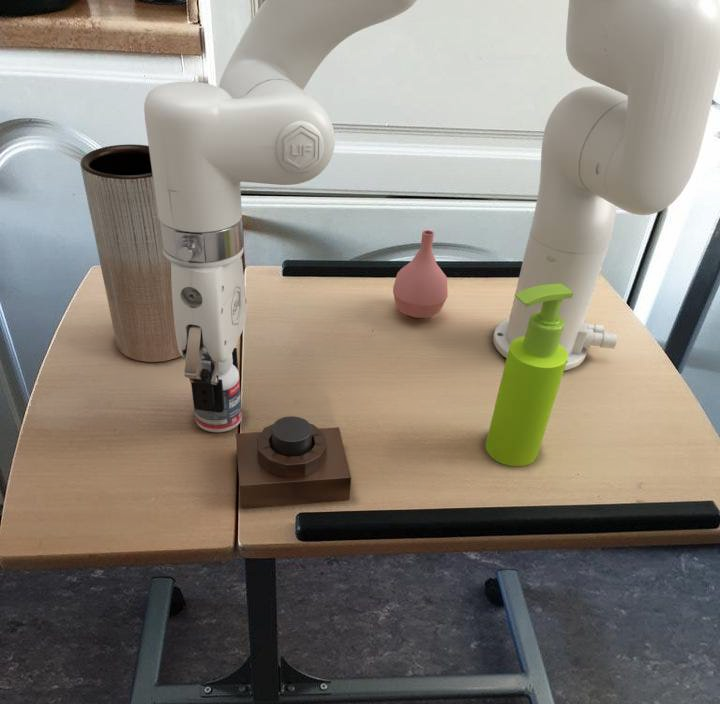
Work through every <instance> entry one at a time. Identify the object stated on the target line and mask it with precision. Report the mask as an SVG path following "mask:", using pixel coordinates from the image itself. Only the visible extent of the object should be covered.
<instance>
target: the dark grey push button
mask: <svg viewBox="0 0 720 704" xmlns="http://www.w3.org/2000/svg"><path fill="white" fill-rule="evenodd" d="M272 424H273V426H272V447H273V449H274V450H275V451H276V452H277V453H278V454H280V455H284V456H287V457H292V456H302V455H304V454H306V453H307V452H308V451H309V450H310V449H311V446H312V426H311V424H312V423H310V422H309V421H308V420H307V419H305V418H303V417H299V416H296V415H295V416H294V415H292V416H291V415H290V416H283V417H280V418H279V419H277V420H276V421H274V423H272Z"/></svg>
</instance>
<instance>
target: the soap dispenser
mask: <svg viewBox="0 0 720 704" xmlns="http://www.w3.org/2000/svg"><path fill="white" fill-rule="evenodd" d="M515 293H516V292H515ZM515 293H514V297H515V296H516V297H517V298H518V299H519V300H520V301H521V302H522V303H523V304H525V305H526V306H527V307H529V306H531V305H534V304H537V303H540V302H543V304H542V308H541V312H536V313H534V314H532V315H531V317H530V319H529V323H528V327H527V331H526V335H525V336H522V337H519V338H516V339H515V340H513V341H512V342H511V344H510V347H509V351H508V355H507V358H506V359H505V364H504V367H503V371H502V376H501V380H500V384H499V388H498V391H497V397H496V400H495V403H494V408H493V412H492V418H491V421H490V425H489V429H488V432H487V433H488V434H487V437H486V442H485V449H486V452H487V454H489V456H490V457H491V458H492V459H493V460H495V461H496V462H497V463H500V464H503V465H505V466H509V467H526V466H529V465H531V464H532V463H534V462H535V461H536V460H537V458H538V455H539V452H540V448H541V445H542V442H543V438H544V436H545V432H546V430H547V426H548V422H549V420H550V418H551V414H552V410H553V407H554V405H555V400H556V397H557V395H558V391H559V388H560V385H561V381H562V378H563V376H564V372H565V371H564V369H565V366H566V363H567V359H568V354H567V351H566V350H565V349H564V347H563V346H561V345H560V344H559V341H560V338H561V335H562V331H563V328H564V321H563V319H562V318H561V317H559V316H558V314H559V310H560V307H561V303H562V300H563V299H569V298H572V296H573V292H572V291H570V290H569V289H568V288H567V287H565V286H564V285H563V284H548V285H540V286H535V287H531V288H528V289H525V290H523V291H520V292H518V293H516V294H515Z"/></svg>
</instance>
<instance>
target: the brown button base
mask: <svg viewBox="0 0 720 704" xmlns="http://www.w3.org/2000/svg"><path fill="white" fill-rule="evenodd" d="M273 424H274V423H271V424H270V425H267V426H265V427H264V428H263V429H262V430H261V431H255V432H253V431H252V432H239V433H238V432H237V433H235V444H236V456H237V457H236V458H237V471H238V483H239V495H240V497H239V498H240V509H254V508H265V507H266V508H267V507H268V508H269V507H278V506H291V505H293V506H294V505H303V504H316V503H317V504H318V503H330V502H342V501H350V499H351V498H350V497H351V486H352V475H351V470H350V466H349V462H348V459H347V455H346V450H345V445H344V442H343V437H342V434H341V430H340V427H339V426H336V427H334V426H333V427H320V428H319V427H317V426H316V425H315V424H314V423H310V424H311V426H312V446H311V449H310V450H309V451H308V452H307V453H306V454H304V455H302V456H292V457H287V456H284V455H280V454H278V453H277V452H276V451H275V450H274V449H273V447H272V426H273Z"/></svg>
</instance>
